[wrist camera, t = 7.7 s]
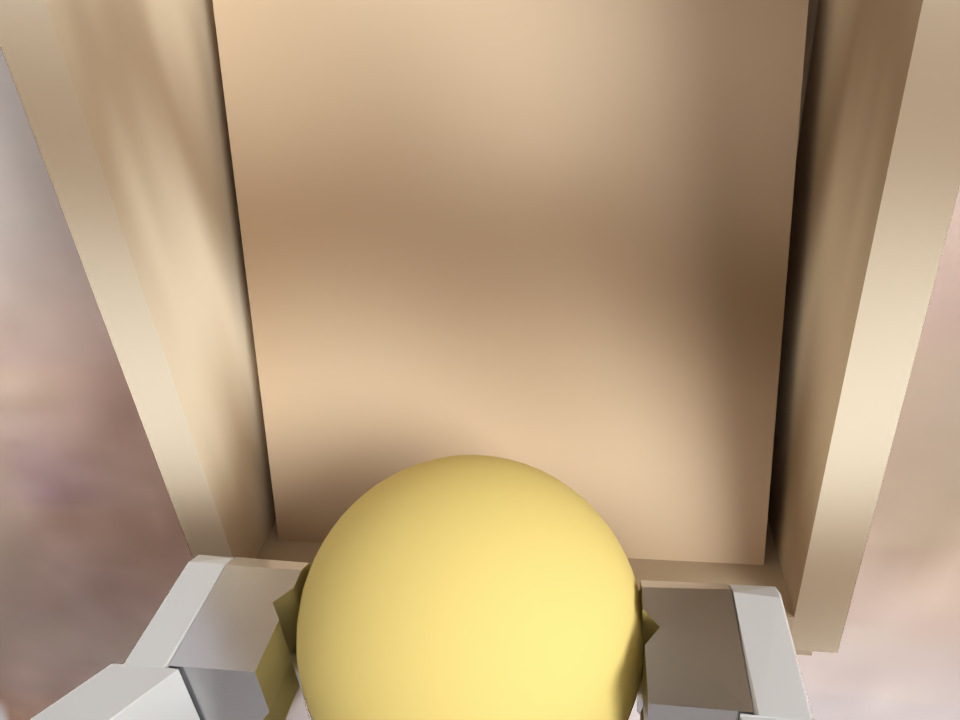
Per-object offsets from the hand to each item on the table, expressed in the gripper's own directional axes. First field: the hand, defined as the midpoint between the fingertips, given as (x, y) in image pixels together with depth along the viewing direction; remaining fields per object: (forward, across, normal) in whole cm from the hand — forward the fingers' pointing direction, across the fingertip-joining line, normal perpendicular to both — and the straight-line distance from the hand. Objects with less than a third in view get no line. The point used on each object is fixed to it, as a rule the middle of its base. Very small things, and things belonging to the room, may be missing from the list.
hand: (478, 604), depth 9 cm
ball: (0, 0, 0) cm, 0 cm away
